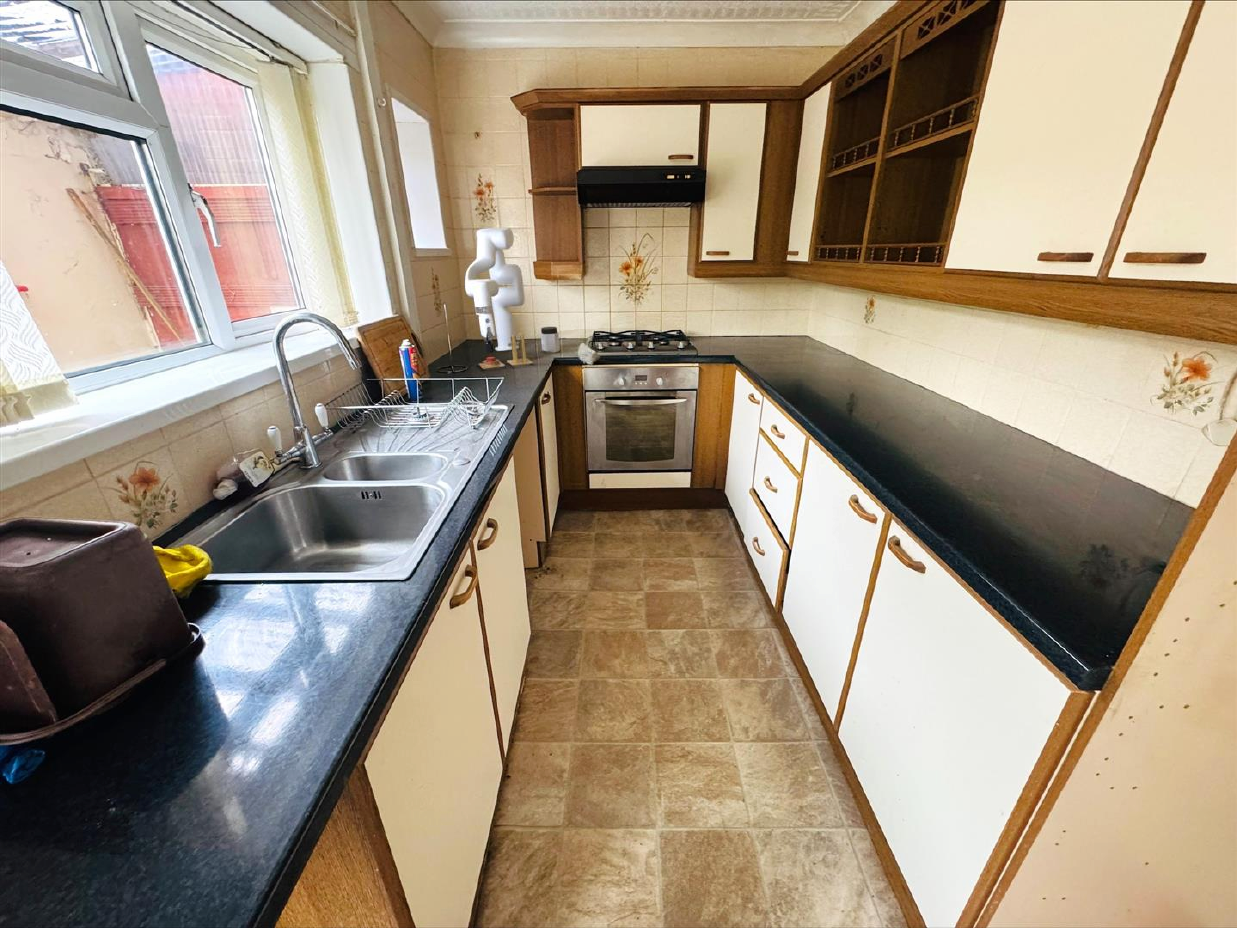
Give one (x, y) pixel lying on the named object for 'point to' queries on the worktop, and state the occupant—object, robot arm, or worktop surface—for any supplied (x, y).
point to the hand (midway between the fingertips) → (489, 352)
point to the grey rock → (587, 354)
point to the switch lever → (517, 338)
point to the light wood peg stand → (514, 351)
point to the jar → (550, 339)
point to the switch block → (491, 364)
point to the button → (490, 359)
